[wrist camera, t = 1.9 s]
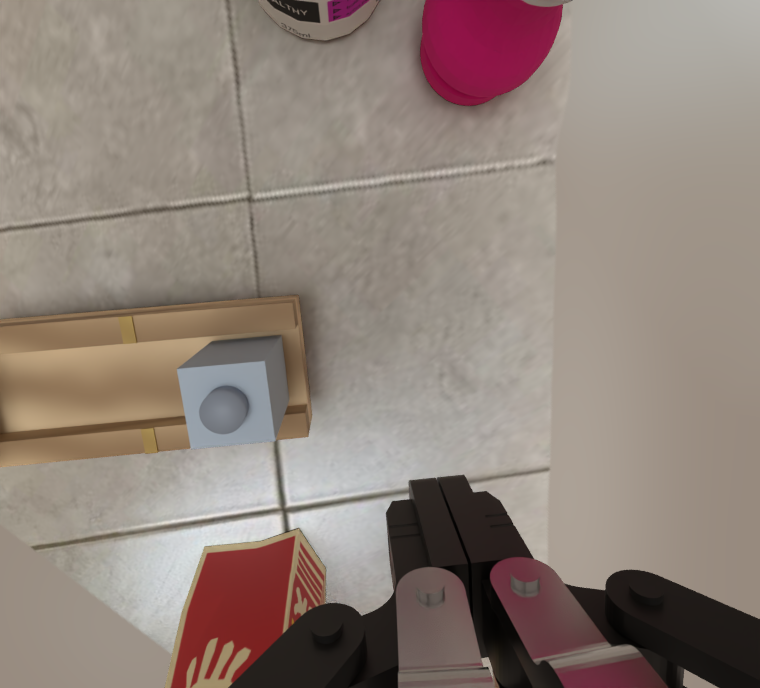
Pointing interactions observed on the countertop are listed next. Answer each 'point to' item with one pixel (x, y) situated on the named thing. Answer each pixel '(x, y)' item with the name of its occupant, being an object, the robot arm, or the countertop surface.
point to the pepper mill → (485, 45)
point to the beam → (127, 376)
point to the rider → (235, 392)
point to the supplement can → (319, 16)
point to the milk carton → (242, 607)
